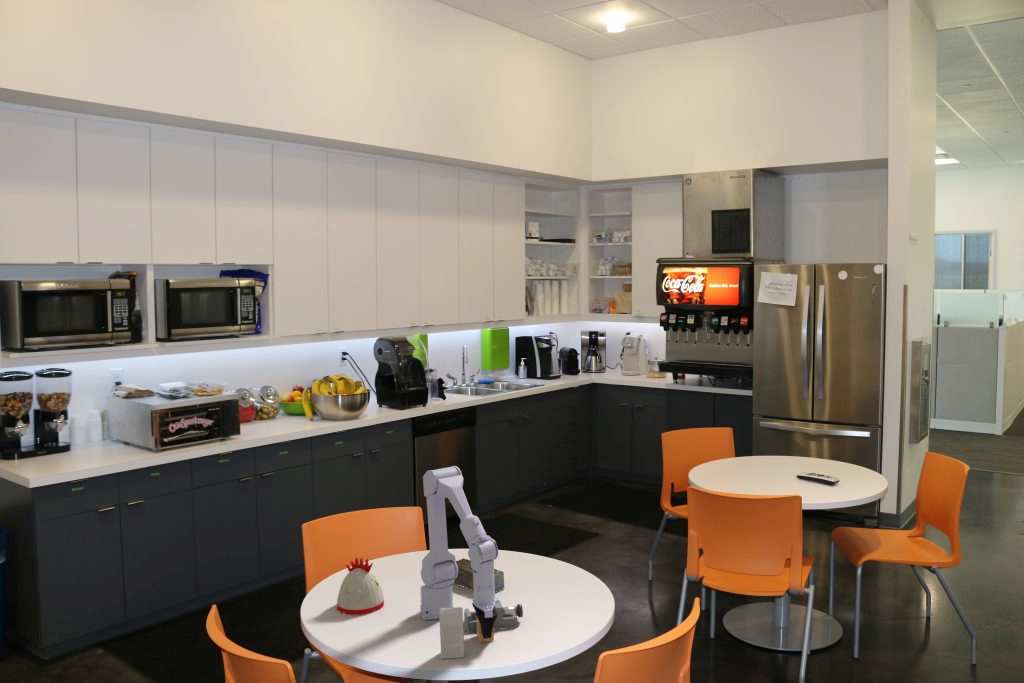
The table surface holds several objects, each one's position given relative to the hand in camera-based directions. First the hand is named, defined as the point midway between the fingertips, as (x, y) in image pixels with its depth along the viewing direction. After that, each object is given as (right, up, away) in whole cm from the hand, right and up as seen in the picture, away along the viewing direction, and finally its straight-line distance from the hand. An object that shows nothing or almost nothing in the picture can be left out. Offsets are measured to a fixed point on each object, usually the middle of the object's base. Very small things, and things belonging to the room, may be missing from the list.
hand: (485, 633), depth 230 cm
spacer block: (0, -2, 0) cm, 2 cm away
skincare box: (-8, -3, -10) cm, 13 cm away
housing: (+1, -1, +9) cm, 10 cm away
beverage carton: (-4, +1, +40) cm, 40 cm away
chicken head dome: (-38, -1, +25) cm, 46 cm away
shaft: (+7, +1, +10) cm, 12 cm away
